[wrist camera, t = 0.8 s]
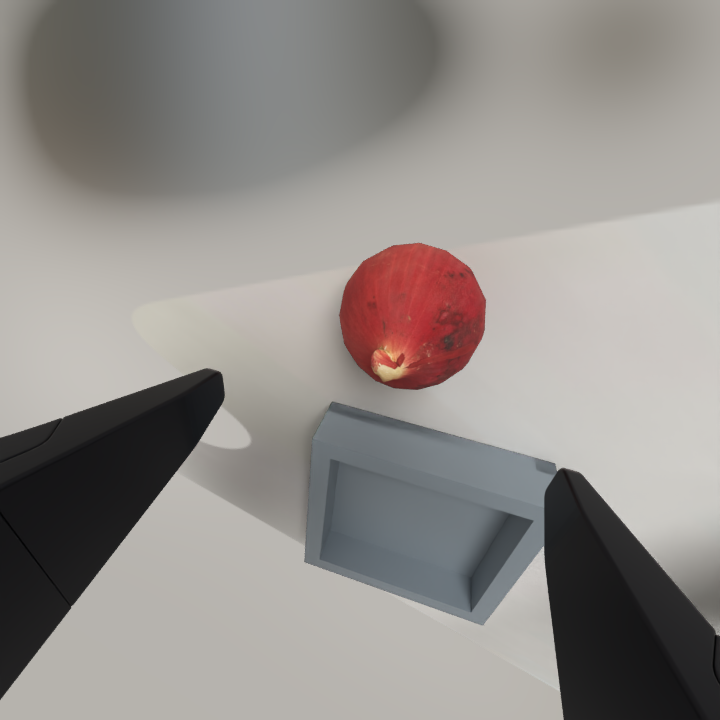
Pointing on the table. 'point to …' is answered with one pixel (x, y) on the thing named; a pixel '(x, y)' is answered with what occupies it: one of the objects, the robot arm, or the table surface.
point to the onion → (412, 316)
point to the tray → (422, 511)
